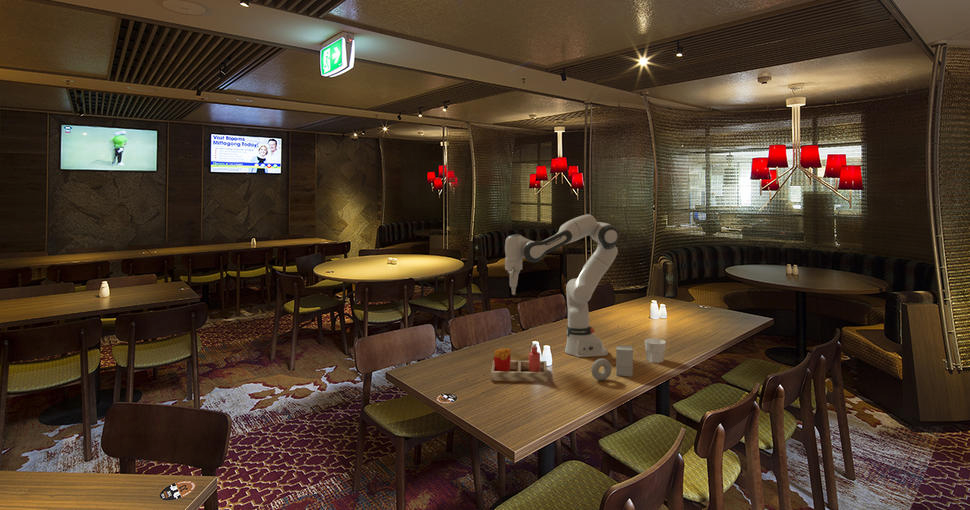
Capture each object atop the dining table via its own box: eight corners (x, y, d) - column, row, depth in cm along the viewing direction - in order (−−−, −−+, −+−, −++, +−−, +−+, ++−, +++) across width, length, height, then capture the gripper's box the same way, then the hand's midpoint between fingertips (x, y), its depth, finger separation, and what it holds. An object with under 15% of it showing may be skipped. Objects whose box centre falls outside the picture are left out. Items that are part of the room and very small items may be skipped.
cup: (655, 364, 233) (655, 345, 232) (639, 359, 242) (640, 340, 240) (669, 361, 237) (670, 342, 236) (654, 355, 246) (654, 337, 245)
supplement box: (632, 371, 224) (633, 345, 222) (632, 377, 217) (632, 350, 215) (616, 370, 226) (617, 344, 225) (615, 375, 219) (616, 348, 218)
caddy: (546, 369, 229) (546, 361, 228) (547, 381, 212) (547, 373, 212) (493, 368, 231) (493, 360, 230) (490, 380, 215) (490, 372, 214)
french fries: (496, 376, 219) (496, 351, 218) (492, 374, 223) (492, 349, 222) (512, 373, 223) (512, 349, 222) (508, 371, 226) (508, 346, 225)
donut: (608, 377, 217) (608, 356, 216) (612, 379, 213) (613, 358, 212) (589, 380, 213) (589, 358, 212) (593, 383, 210) (594, 361, 209)
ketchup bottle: (539, 374, 221) (539, 342, 220) (540, 378, 216) (540, 345, 215) (528, 374, 222) (528, 342, 220) (528, 378, 217) (528, 345, 215)
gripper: (519, 268, 232) (519, 296, 233) (520, 263, 252) (520, 289, 254) (506, 268, 232) (506, 296, 234) (508, 263, 253) (508, 289, 254)
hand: (513, 292), depth 244 cm, fingers open, 8 cm apart
